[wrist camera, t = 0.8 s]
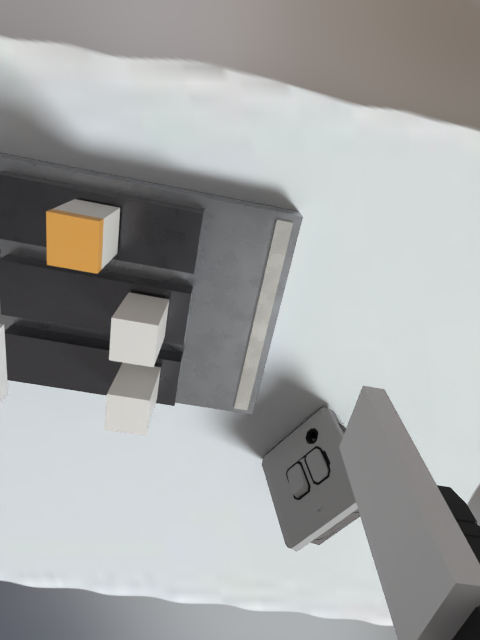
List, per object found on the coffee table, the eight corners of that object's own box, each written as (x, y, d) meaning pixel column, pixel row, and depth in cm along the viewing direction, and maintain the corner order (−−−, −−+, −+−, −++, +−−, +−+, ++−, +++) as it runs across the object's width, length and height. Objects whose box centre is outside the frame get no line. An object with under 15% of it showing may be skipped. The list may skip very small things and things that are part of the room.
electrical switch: (325, 401, 39) (356, 482, 31) (360, 425, 41) (398, 508, 33) (259, 457, 42) (271, 544, 34) (294, 477, 44) (314, 565, 36)
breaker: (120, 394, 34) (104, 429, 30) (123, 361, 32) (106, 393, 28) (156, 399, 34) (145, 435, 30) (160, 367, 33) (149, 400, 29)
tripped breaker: (74, 245, 28) (46, 264, 24) (74, 199, 27) (46, 211, 23) (117, 253, 29) (97, 273, 25) (120, 207, 27) (99, 221, 23)
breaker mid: (125, 330, 31) (108, 360, 27) (128, 292, 30) (111, 317, 26) (164, 337, 31) (153, 367, 27) (169, 299, 30) (158, 325, 26)
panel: (-54, 352, 37) (-82, 374, 33) (-84, 136, 29) (-124, 137, 26) (252, 401, 39) (253, 425, 36) (299, 211, 31) (305, 221, 28)
